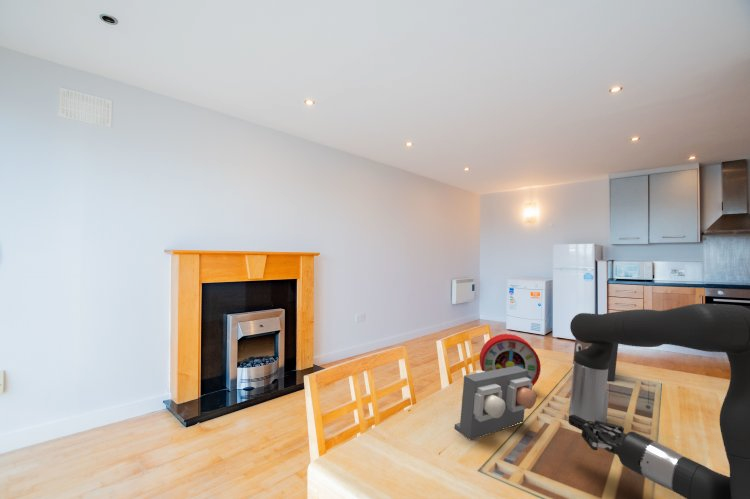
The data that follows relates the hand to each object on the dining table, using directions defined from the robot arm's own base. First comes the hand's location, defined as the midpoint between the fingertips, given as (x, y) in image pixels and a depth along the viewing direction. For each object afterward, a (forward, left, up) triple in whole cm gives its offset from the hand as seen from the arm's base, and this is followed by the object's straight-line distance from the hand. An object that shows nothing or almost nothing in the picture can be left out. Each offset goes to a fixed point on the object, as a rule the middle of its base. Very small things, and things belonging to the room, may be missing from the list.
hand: (570, 418), depth 86 cm
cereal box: (-46, -63, -11) cm, 79 cm away
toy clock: (+1, -38, -11) cm, 40 cm away
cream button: (+18, -5, -3) cm, 19 cm away
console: (+15, -12, -10) cm, 22 cm away
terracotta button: (+7, -12, -3) cm, 14 cm away
